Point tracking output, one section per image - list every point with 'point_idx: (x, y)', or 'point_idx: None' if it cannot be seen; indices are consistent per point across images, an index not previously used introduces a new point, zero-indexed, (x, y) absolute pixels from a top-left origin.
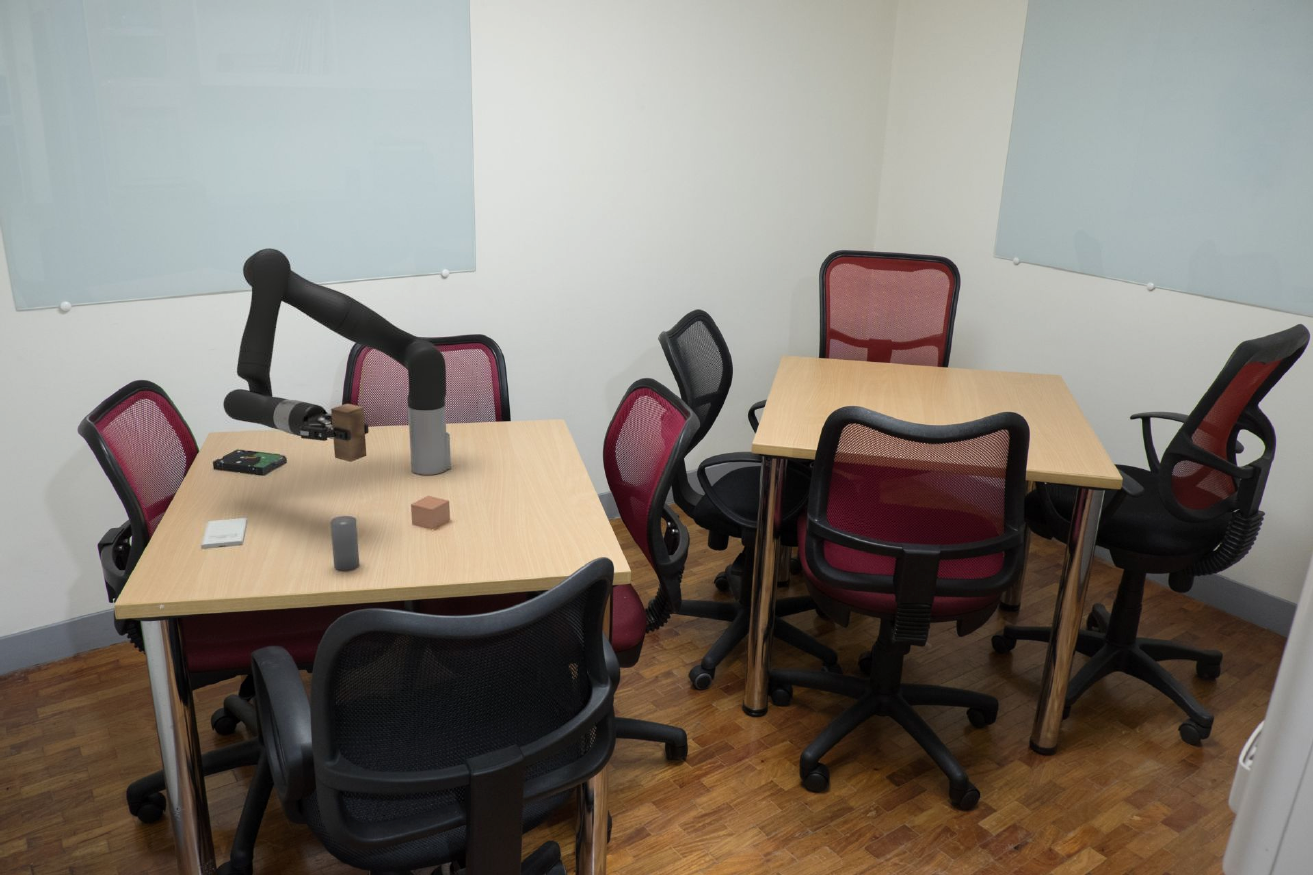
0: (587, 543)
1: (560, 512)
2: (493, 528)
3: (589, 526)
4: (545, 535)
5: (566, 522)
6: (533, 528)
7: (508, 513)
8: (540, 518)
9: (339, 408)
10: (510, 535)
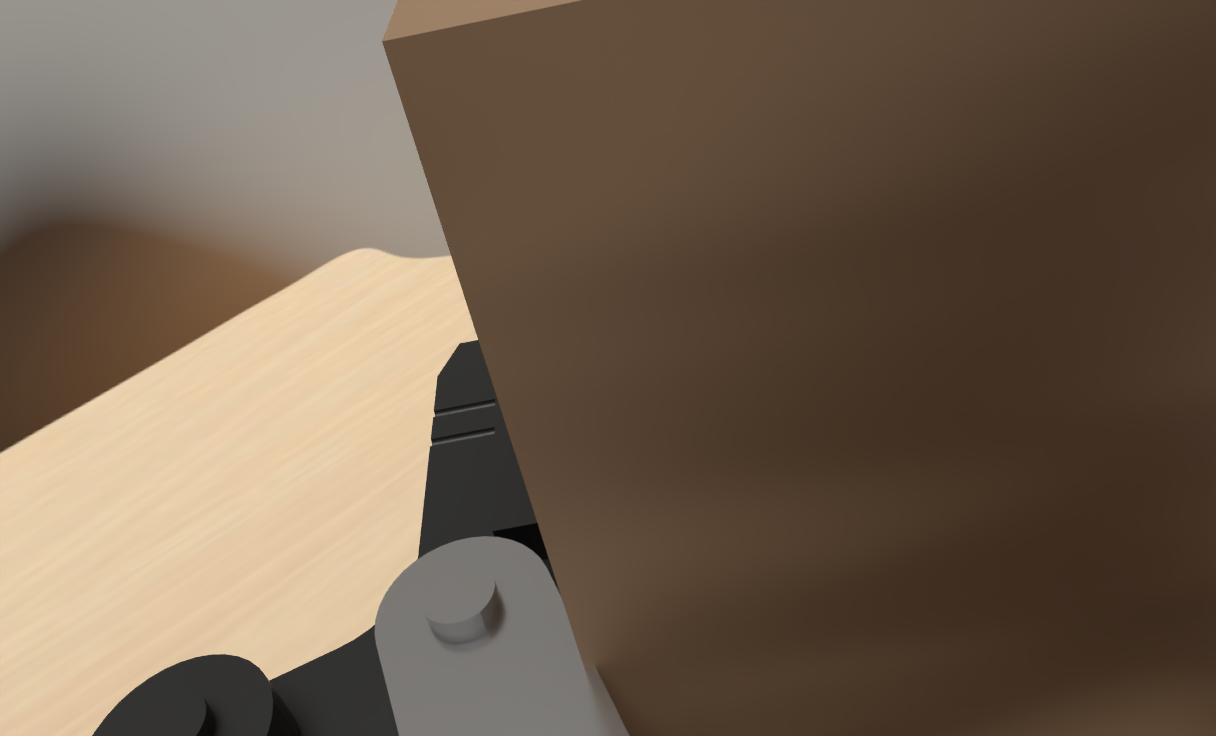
0: (313, 308)
1: (66, 495)
2: (323, 550)
3: (178, 371)
4: (306, 400)
5: (164, 428)
6: (260, 458)
7: (128, 623)
8: (150, 502)
9: None
10: (360, 465)
